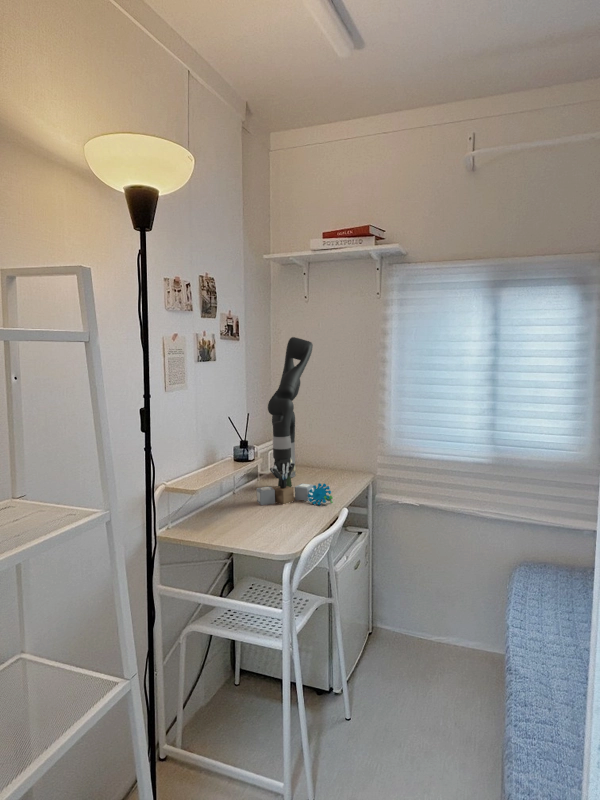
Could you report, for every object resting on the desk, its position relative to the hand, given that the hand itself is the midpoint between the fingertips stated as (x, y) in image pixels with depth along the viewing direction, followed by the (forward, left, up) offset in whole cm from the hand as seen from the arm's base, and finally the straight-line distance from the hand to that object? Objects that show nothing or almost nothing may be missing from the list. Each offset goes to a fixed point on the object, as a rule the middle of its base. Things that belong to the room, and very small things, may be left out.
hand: (283, 487), depth 222 cm
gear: (+12, +10, -6) cm, 17 cm away
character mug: (-17, +13, -6) cm, 22 cm away
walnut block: (0, 0, -6) cm, 6 cm away
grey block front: (-4, -6, -6) cm, 10 cm away
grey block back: (+3, +9, -6) cm, 11 cm away
